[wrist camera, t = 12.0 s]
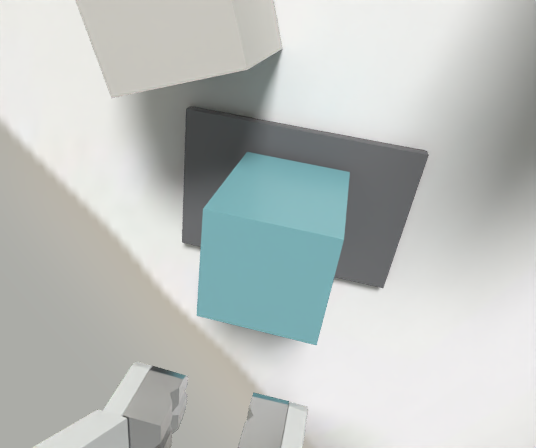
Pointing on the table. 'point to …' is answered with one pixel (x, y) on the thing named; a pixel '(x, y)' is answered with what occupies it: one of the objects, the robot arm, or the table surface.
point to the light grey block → (177, 39)
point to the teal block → (272, 246)
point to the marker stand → (315, 153)
